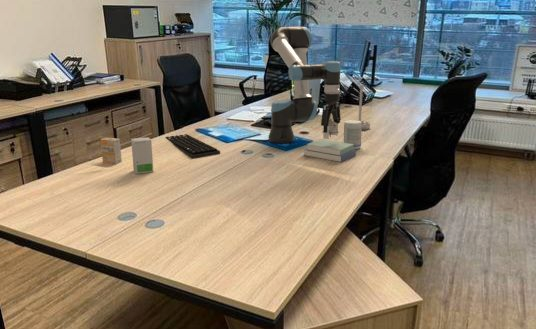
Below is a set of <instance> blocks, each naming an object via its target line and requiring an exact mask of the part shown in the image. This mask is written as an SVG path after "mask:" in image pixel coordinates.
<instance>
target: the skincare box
mask: <svg viewBox="0 0 536 329" xmlns="http://www.w3.org/2000/svg"><path fill="white" fill-rule="evenodd" d="M130 140H131V141H130V142H131V153H132V166H133V168H132V169H133V172H134V173H135V174H136V175H138V174H148V173H154V163H153V162H154V161H153V160H154V159H153V158H154V157H153V147H152V145H153V144H152V139H151V138H150V137H136V138H131V139H130Z"/></svg>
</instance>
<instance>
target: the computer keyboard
mask: <svg viewBox="0 0 536 329" xmlns="http://www.w3.org/2000/svg"><path fill="white" fill-rule="evenodd" d="M165 139H166V140H168V141H169V142H171V143H172V145H173V146H175V148H177V149H178V150H179V151H181V152H183V153H184V154H185V155H186V156H188V157H189V158H191V159H197V158H198V159H199V158H204V157H209V156H215V155H220V154H221V150H219V149H217V148H216V147H213V146H212V145H209V144H208V143H205V142H204V141H202V140H199V139H198V138H195V137H193V136H191V135H189V134H187V133H185V134H179V135H178V134H176V135H171V136H165Z"/></svg>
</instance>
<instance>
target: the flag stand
mask: <svg viewBox="0 0 536 329" xmlns="http://www.w3.org/2000/svg"><path fill="white" fill-rule="evenodd" d="M364 87H365V85H364V84H362V83H361V84H359V86H358V88H359V106H358V121H361V122H362V131H364V130H368V129H369V128H371V122H369V121H364V120H362V110H363V109H362V108H363V105H362V104H363V91H364Z"/></svg>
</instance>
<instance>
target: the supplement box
mask: <svg viewBox="0 0 536 329" xmlns="http://www.w3.org/2000/svg"><path fill="white" fill-rule="evenodd" d="M99 140H100V148H101V157H102V158H101V159H102V163H103V164H109V165H116V166H117V165H118V164H121V163H122V162H123V160H122V151H121V149H122V148H121V139H120V138H115V137H102V138H100V139H99Z"/></svg>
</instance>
